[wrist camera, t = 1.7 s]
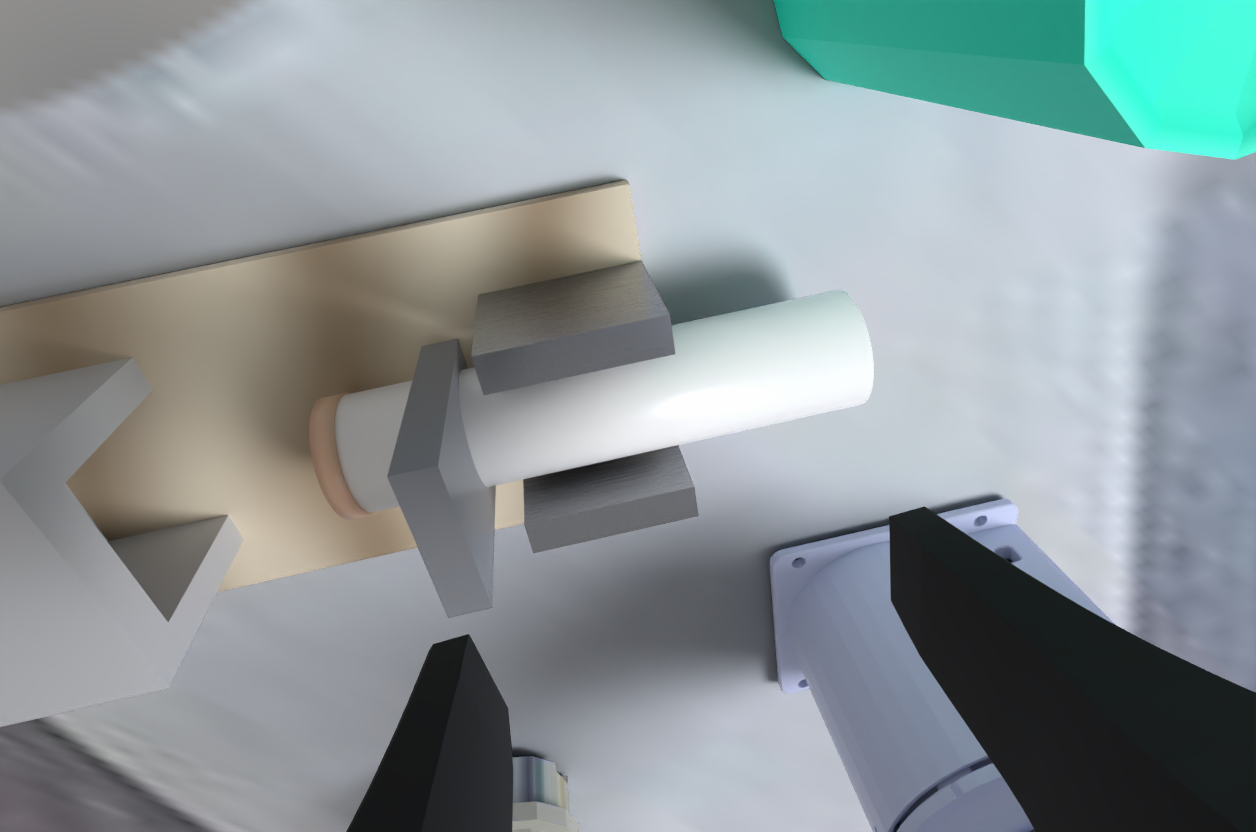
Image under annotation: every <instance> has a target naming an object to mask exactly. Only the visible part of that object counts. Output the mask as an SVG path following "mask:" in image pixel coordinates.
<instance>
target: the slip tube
mask: <svg viewBox="0 0 1256 832" xmlns="http://www.w3.org/2000/svg"><path fill="white" fill-rule="evenodd" d="M672 332H673V339H674V347H675V354H674V355H669V356H665V357H660V358H656V359H651V360H646V361H642V362H637V363H632V364H628V365H623V366H618V367H614V368H609V369H604V370H600V371H595V372H590V373H586V374H581V375H577V376H572V377H567V378H563V379H558V380H553V381H549V382H544V383H539V384H535V385H530V386H525V387H521V388H516V389H511V390H507V391H502V392H498V393H493V394H488V395H483V392H482V389H481V386H480V383H479V380H478V377H477V373H476V370H475V367H473V368H468V367H467V364H466V361H465V358H464V355H463V352H462V349H461V346H460V343H459V339H453V340H449V341H444V342H439V343H434V344H430V345H425V346H422V347H421V351H420V354H419V358H418V362H417V366H416V369H415V373H414V377H413V380H412V381H407V382H403V383H398V384H393V385H389V386H384V387H379V388H375V389H370V390H365V391H361V392H356V393H342V394H337V395H333V396H328V397H323V398H320V399H319V400H318V401H317V402H316V403H315V404H314V406H313V409H312V412H311V416H310V423H309V441H310V450H311V456H312V461H313V466H314V470H315V473H316V476H317V479H318V482H319V485H320V487H321V490H322V492H323V494H324V496H325V498H326V500H327V502H328V503H329V505H330V506H331V508H332V509H333V510H334V511H335V512H336V513H337V514H338V515H339V516H340V517H342V518H344V519H346V520H350V519H355V518H359V517H364V516H368V515H373V514H375V513H377V512H378V511H382V510H387V509H391V508H396V507H400V508H401V510H402V512H403V515H404V517H405V519H406V522H407V524H408V526H409V528H410V531H411V533H412V535H413V538H414V540H415V542H416V545H417V547H418V549H419V551H420V554H421V556H422V558H423V561H424V563H425V565H426V568H427V570H428V572H429V574H430V577H431V579H432V581H433V584H434V586H435V588H436V591H437V593H438V595H439V597H440V600H441V602H442V604H443V607H444V609H445V611H446V614H447V616H448V618H449V617H454V616H458V615H463V614H467V613H471V612H476V611H480V610H484V609H489V608H492V596H493V563H494V530H495V497H496V485H500V484H504V483H509V482H514V481H518V480H523V479H527V478H532V477H536V476H541V475H545V474H550V473H554V472H559V471H563V470H568V469H572V468H577V467H581V466H586V465H590V464H595V463H600V462H604V461H609V460H613V459H618V458H622V457H627V456H631V455H636V454H640V453H645V452H649V451H654V450H658V449H663V448H667V447H672V446H676V445H681V444H686V443H690V442H695V441H699V440H704V439H708V438H713V437H717V436H722V435H726V434H731V433H735V432H740V431H744V430H749V429H753V428H758V427H762V426H767V425H772V424H776V423H781V422H785V421H790V420H794V419H799V418H803V417H808V416H812V415H817V414H821V413H826V412H830V411H835V410H839V409H844V408H848V407H853V406H858V405H862V404H864V403H865V402H866V401H867V400H868V398H869V396H870V394H871V391H872V386H873V378H874V364H873V353H872V347H871V342H870V337H869V333H868V330H867V327H866V324H865V321H864V318H863V316H862V314H861V312H860V310H859V308H858V306H857V304H856V303H855V301H854V300H853V298H852V297H851V296H850V295H849V294H848V293H846V292H845V291H843V290H834V291H829V292H825V293H820V294H815V295H811V296H806V297H801V298H797V299H792V300H787V301H782V302H778V303H773V304H768V305H764V306H759V307H754V308H750V309H745V310H740V311H736V312H731V313H726V314H721V315H717V316H712V317H707V318H703V319H698V320H693V321H689V322H684V323H679V324H675V325H672Z"/></svg>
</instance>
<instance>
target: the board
mask: <svg viewBox="0 0 1256 832" xmlns="http://www.w3.org/2000/svg"><path fill="white" fill-rule="evenodd" d="M636 261H641V254H640V248H639V241H638V235H637V229H636V222H635V216H634V210H633V203H632V197H631V191H630V184H629V182H628V181H627V180H623V181H618V182H613V183H608V184H604V185H599V186H594V187H589V188H584V189H579V190H574V191H569V192H564V193H559V194H554V195H549V196H545V197H540V198H535V199H530V200H525V201H520V202H515V203H510V204H505V205H500V206H495V207H491V208H486V209H481V210H476V211H471V212H466V213H461V214H456V215H451V216H446V217H441V218H437V219H432V220H427V221H422V222H417V223H412V224H407V225H402V226H397V227H392V228H387V229H383V230H378V231H373V232H368V233H363V234H358V235H353V236H348V237H343V238H338V239H333V240H328V241H324V242H319V243H314V244H309V245H304V246H299V247H294V248H289V249H284V250H279V251H274V252H270V253H265V254H260V255H255V256H250V257H245V258H240V259H235V260H230V261H225V262H220V263H216V264H211V265H206V266H201V267H196V268H191V269H186V270H181V271H176V272H171V273H166V274H162V275H157V276H152V277H147V278H142V279H137V280H132V281H127V282H122V283H117V284H112V285H107V286H103V287H98V288H93V289H88V290H83V291H78V292H73V293H68V294H63V295H58V296H53V297H49V298H44V299H39V300H34V301H29V302H24V303H19V304H14V305H9V306H4V307H0V385H2V384H7V383H12V382H16V381H21V380H26V379H31V378H36V377H40V376H45V375H50V374H55V373H60V372H64V371H69V370H74V369H79V368H84V367H88V366H93V365H98V364H103V363H108V362H112V361H117V360H122V359H127V358H132V357H133V359H134V360H135V362H136V364H137V365H138V367H139V368H140V370H141V372H142V373H143V375H144V377H145V378H146V380H147V382H148V383H149V385H150V387H151V388H152V391H151V392H150V393H149V394H148V396H147V397H146V398H145V399H144V400H143V401H142V402H141V403H140V404H139V405H138V406H137V407H136V408H135V409H134V410H133V411H132V412H131V414H130V415H129V416H128V417H127V418H126V419H125V420H124V421H123V422H122V423H121V424H120V425H119V426H118V427H117V428H116V429H115V430H114V432H113V433H112V434H111V435H110V436H109V437H108V438H107V439H106V440H105V441H104V442H103V443H102V444H101V445H100V446H99V447H98V448H97V450H96V451H95V452H94V453H93V454H92V455H91V456H90V457H89V458H88V459H87V460H86V461H85V462H84V463H83V464H82V465H81V466H80V468H79V469H78V470H77V471H76V472H75V473H74V474H73V475H72V476H71V477H70V478H69V479H68V480H67V481H66V482H65V483H66V485H67V486H68V487H69V489H70V490H71V491H72V493H73V494H74V495H75V497H76V498H77V499H78V501H79V502H80V503H81V505H82V506H83V507H84V509H85V510H86V511H87V513H88V514H89V515H90V517H91V518H92V519H93V521H94V522H95V523H96V525H97V526H98V527H99V529H100V530H101V531H102V533H103V534H104V535H105V537H106V538H107V539H108V541H111V540H116V539H120V538H125V537H129V536H134V535H139V534H143V533H148V532H152V531H157V530H161V529H166V528H171V527H175V526H180V525H184V524H189V523H193V522H198V521H203V520H207V519H212V518H216V517H221V516H225V515H229V516H230V518H231V519H232V521H233V523H234V524H235V526H236V528H237V529H238V531H239V533H240V534H241V536H242V537H243V539H244V540H243V542H242V544H241V546H240V548H239V550H238V552H237V554H236V556H235V557H234V559H233V561H232V563H231V565H230V567H229V569H228V571H227V573H226V575H225V577H224V579H223V581H222V583H221V585H220V587H219V589H218V591H217V592H220V591H225V590H229V589H234V588H238V587H243V586H247V585H252V584H256V583H261V582H265V581H270V580H274V579H279V578H283V577H288V576H292V575H296V574H301V573H305V572H310V571H314V570H319V569H323V568H328V567H332V566H337V565H341V564H346V563H350V562H355V561H359V560H364V559H368V558H372V557H377V556H381V555H386V554H390V553H395V552H399V551H404V550H408V549H413V548H417V545H416V542H415V540H414V538H413V535H412V533H411V531H410V528H409V526H408V524H407V522H406V519H405V517H404V515H403V512H402V510H401V508H400V507H396V508H391V509H387V510H382V511H378V512H377V513H375V514H373V515H368V516H364V517H359V518H355V519H350V520H346V519H344V518H342V517H340V516H339V515H338V514H337V513H336V512H335V511H334V510H333V509H332V508H331V506H330V505H329V503H328V502H327V500H326V498H325V496H324V494H323V492H322V490H321V487H320V485H319V482H318V479H317V476H316V473H315V470H314V466H313V461H312V456H311V450H310V441H309V423H310V416H311V412H312V409H313V406H314V404H315V403H316V402H317V401H318V400H319V399H320V398H323V397H328V396H333V395H337V394H342V393H356V392H361V391H365V390H370V389H375V388H379V387H384V386H389V385H393V384H398V383H403V382H407V381H412V380H413V377H414V373H415V369H416V366H417V362H418V358H419V354H420V351H421V347H422V346H425V345H430V344H434V343H439V342H444V341H449V340H453V339H459V343H460V346H461V349H462V352H463V355H464V358H465V361H466V364H467V367H468V368H473V367H474V364H473V361H472V358H471V354H472V346H473V337H474V328H475V319H476V310H477V301H478V294H483V293H488V292H493V291H498V290H502V289H507V288H512V287H517V286H522V285H526V284H531V283H536V282H541V281H545V280H550V279H555V278H560V277H565V276H569V275H574V274H579V273H584V272H589V271H593V270H598V269H603V268H608V267H612V266H617V265H622V264H627V263H632V262H636ZM520 524H524V490H523V480H518V481H514V482H509V483H504V484H500V485H496V497H495V530H498V529H502V528H507V527H511V526H516V525H520Z"/></svg>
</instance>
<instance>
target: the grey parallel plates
mask: <svg viewBox="0 0 1256 832" xmlns="http://www.w3.org/2000/svg"><path fill="white" fill-rule="evenodd" d="M674 354H675V347H674V339H673V332H672V325H671V318H670V314H669V312H668V310H667V308H666V306H665V304H664V302H663V300H662V298H661V297H660V295H659V293H658V291H657V289H656V287H655V285H654V283H653V281H652V279H651V278H650V276H649V274H648V272H647V270H646V268H645V266H644V264H643V262H642V260H641V261H636V262H632V263H627V264H622V265H617V266H612V267H608V268H603V269H598V270H593V271H589V272H584V273H579V274H574V275H569V276H565V277H560V278H555V279H550V280H545V281H541V282H536V283H531V284H526V285H522V286H517V287H512V288H507V289H502V290H498V291H493V292H488V293H483V294H478V301H477V310H476V319H475V328H474V337H473V346H472V354H471V358H472V361H473V364H474V367H475V370H476V373H477V377H478V380H479V383H480V386H481V389H482V392H483V395H488V394H493V393H498V392H502V391H507V390H511V389H516V388H521V387H525V386H530V385H535V384H539V383H544V382H549V381H553V380H558V379H563V378H567V377H572V376H577V375H581V374H586V373H590V372H595V371H600V370H604V369H609V368H614V367H618V366H623V365H628V364H632V363H637V362H642V361H646V360H651V359H656V358H660V357H665V356H669V355H674ZM523 490H524V525H525V528H526V531H527V534H528V537H529V541H530V544H531V547H532V550H533V553H536V552H541V551H545V550H549V549H554V548H558V547H563V546H567V545H572V544H576V543H580V542H585V541H589V540H594V539H598V538H603V537H607V536H611V535H616V534H620V533H625V532H629V531H634V530H638V529H642V528H647V527H651V526H656V525H660V524H665V523H669V522H673V521H678V520H682V519H687V518H691V517H696V516H698V510H697V503H696V496H695V489H694V485H693V482H692V480H691V477H690V475H689V472H688V469H687V467H686V464H685V462H684V459H683V456H682V454H681V451H680V449H679V446H678V445H676V446H672V447H667V448H663V449H658V450H654V451H649V452H645V453H640V454H636V455H631V456H627V457H622V458H618V459H613V460H609V461H604V462H600V463H595V464H590V465H586V466H581V467H577V468H572V469H568V470H563V471H559V472H554V473H550V474H545V475H541V476H536V477H532V478H527V479H523Z"/></svg>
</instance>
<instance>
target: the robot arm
mask: <svg viewBox="0 0 1256 832" xmlns="http://www.w3.org/2000/svg"><path fill="white" fill-rule="evenodd" d="M1017 515H1018V507H1017V506H1016V505H1015V504H1014V503H1013V502H1012V501H1011V500H1009V499H1000V500H996V501H992V502H987V503H983V504H979V505H974V506H970V507H965V508H961V509H957V510H952V511H948V512H944V513H939V514H935V513H934V512H932V511H931V510H929V509H927V508H926V507H922V508H918V509H914V510H911V511H907V512H904V513H900V514H897V515H893V516H889V525H887V526H883V527H878V528H874V529H869V530H865V531H861V532H856V533H852V534H848V535H843V536H839V537H834V538H830V539H826V540H821V541H817V542H813V543H808V544H804V545H800V546H795V547H791V548H786V549H782V550H779V551H777V552H776V553H774V554H773V555H772V557H771V558H770V576H771V589H772V603H773V617H774V631H775V644H776V658H777V672H778V683H779V685H780V688H781V690H782V691H783V692H784V693H795V692H799V691H803V690H807V689H810V690H811V692H812V695H813V697H814V699H815V701H816V704H817V706H818V708H819V710H820V713H821V715H822V717H823V720H824V722H825V724H826V726H827V729H828V731H829V733H830V735H831V738H832V740H833V742H834V744H835V747H836V749H837V751H838V753H839V756H840V758H841V760H842V762H843V765H844V767H845V769H846V772H847V774H848V776H849V778H850V781H851V783H852V785H853V787H854V790H855V792H856V794H857V796H858V799H859V801H860V803H861V805H862V808H863V810H864V812H865V814H866V817H867V819H868V821H869V823H870V826H871V828H872V830H873V832H1256V693H1255V692H1253V691H1250V690H1248V689H1246V688H1244V687H1241V686H1239V685H1237V684H1235V683H1232V682H1230V681H1228V680H1226V679H1223V678H1221V677H1219V676H1217V675H1215V674H1212V673H1210V672H1208V671H1206V670H1204V669H1202V668H1200V667H1198V666H1196V665H1194V664H1192V663H1189V662H1187V661H1185V660H1183V659H1181V658H1179V657H1177V656H1175V655H1173V654H1171V653H1169V652H1167V651H1165V650H1162V649H1160V648H1158V647H1156V646H1154V645H1152V644H1150V643H1148V642H1146V641H1145V640H1143V639H1141V638H1139V637H1137V636H1135V635H1133V634H1131V633H1129V632H1127V631H1126V630H1124V629H1122V628H1120V627H1118V626H1116V625H1115V624H1114V623H1113V622H1112V621H1111V620H1110V619H1109V618H1108V617H1107V616H1106V615H1105V614H1104V613H1103V612H1102V611H1101V610H1100V609H1099V608H1098V607H1097V606H1096V605H1095V604H1094V603H1093V602H1092V601H1091V600H1090V598H1089V597H1088V596H1087V595H1086V594H1085V593H1084V592H1083V591H1082V590H1081V589H1080V588H1079V587H1078V586H1077V585H1076V584H1075V583H1074V582H1073V581H1072V580H1071V579H1070V578H1069V577H1068V576H1067V575H1066V574H1065V573H1064V572H1063V571H1062V570H1061V569H1060V568H1059V567H1058V566H1057V565H1056V564H1055V563H1054V562H1053V561H1052V560H1051V559H1050V558H1049V557H1048V556H1047V555H1046V554H1045V553H1044V552H1043V551H1042V550H1041V549H1040V548H1039V547H1038V546H1037V545H1036V544H1035V543H1034V542H1033V541H1032V540H1031V539H1030V538H1029V537H1028V536H1027V535H1026V534H1025V533H1024V532H1023V531H1022V530H1021V529H1020V528H1019V527H1018V526H1017V525H1016V521H1017ZM977 517H978V518H977ZM976 518H977V519H976ZM800 557H801V558H800ZM796 558H800V559H798V560H796V561H794V560H795V559H796ZM512 820H513V759H512V746H511V735H510V725H509V714H508V707H507V705H506V704H505V702H504V700H503V698H502V696H501V694H500V692H499V690H498V688H497V686H496V684H495V683H494V681H493V679H492V677H491V675H490V673H489V671H488V669H487V667H486V665H485V664H484V662H483V660H482V658H481V656H480V654H479V652H478V650H477V648H476V646H475V644H474V643H473V641H472V639H471V637H470V635H469V634H468V635H464V636H461V637H457V638H453V639H450V640H446V641H443V642H439V643H436V644H433V645H432V647H431V648H430V650H429V652H428V655H427V657H426V660H425V662H424V664H423V667H422V669H421V672H420V674H419V677H418V679H417V681H416V684H415V686H414V689H413V691H412V693H411V696H410V698H409V701H408V703H407V705H406V708H405V710H404V712H403V715H402V717H401V719H400V721H399V724H398V726H397V728H396V731H395V733H394V735H393V737H392V739H391V741H390V744H389V746H388V748H387V750H386V752H385V754H384V757H383V759H382V761H381V763H380V765H379V767H378V770H377V772H376V774H375V776H374V778H373V780H372V782H371V784H370V787H369V789H368V791H367V793H366V795H365V797H364V798H363V800H362V802H361V804H360V806H359V808H358V810H357V812H356V814H355V816H354V818H353V820H352V822H351V824H350V826H349V828H348V830H347V832H512Z"/></svg>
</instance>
